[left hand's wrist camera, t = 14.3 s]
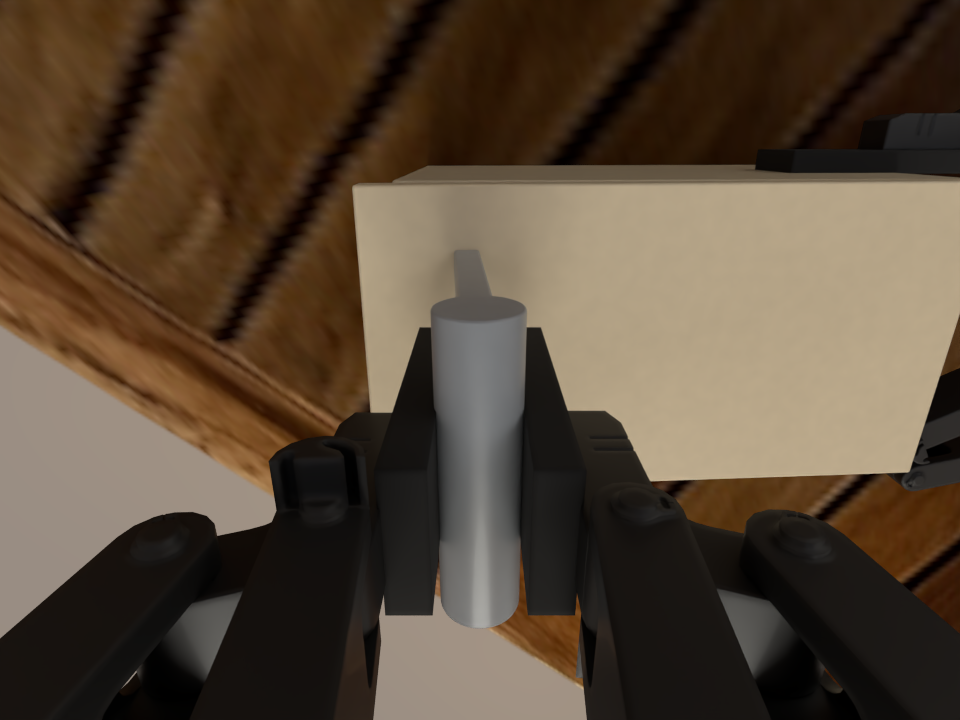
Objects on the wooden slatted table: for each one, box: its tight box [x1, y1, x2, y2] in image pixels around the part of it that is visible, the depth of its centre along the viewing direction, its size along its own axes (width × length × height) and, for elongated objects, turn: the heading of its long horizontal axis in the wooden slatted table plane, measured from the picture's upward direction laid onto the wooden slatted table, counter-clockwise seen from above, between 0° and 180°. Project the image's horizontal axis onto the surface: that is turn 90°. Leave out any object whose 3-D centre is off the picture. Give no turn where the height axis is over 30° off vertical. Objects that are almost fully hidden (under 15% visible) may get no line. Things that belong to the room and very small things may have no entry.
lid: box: [352, 179, 960, 628], centre depth 14 cm, size 18×9×8 cm, turn 90°
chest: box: [392, 165, 960, 183], centre depth 23 cm, size 17×9×11 cm, turn 90°
